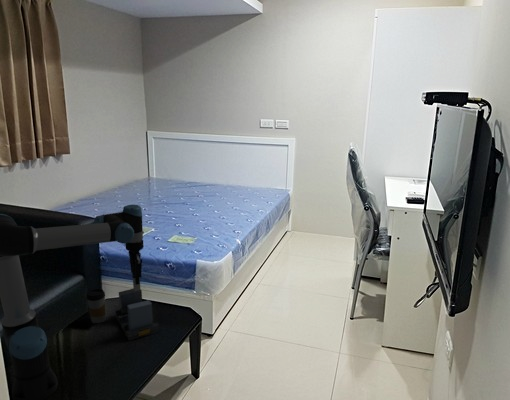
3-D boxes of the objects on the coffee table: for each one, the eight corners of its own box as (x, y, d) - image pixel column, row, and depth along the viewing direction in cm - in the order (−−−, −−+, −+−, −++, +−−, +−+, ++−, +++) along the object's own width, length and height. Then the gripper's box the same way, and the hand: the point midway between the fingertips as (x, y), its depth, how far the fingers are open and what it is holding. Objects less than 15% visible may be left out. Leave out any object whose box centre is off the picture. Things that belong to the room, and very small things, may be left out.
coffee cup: (93, 315, 205) (90, 287, 201) (110, 316, 205) (107, 288, 201) (86, 324, 197) (83, 296, 193) (103, 325, 197) (100, 296, 193)
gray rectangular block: (131, 333, 188) (129, 309, 185) (128, 328, 191) (127, 305, 188) (152, 327, 193) (151, 303, 190) (150, 323, 196) (149, 300, 193)
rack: (128, 341, 185) (126, 314, 181) (115, 315, 206) (112, 290, 202) (159, 332, 192) (157, 305, 188) (143, 307, 213) (141, 283, 209)
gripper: (147, 243, 177) (149, 293, 183) (138, 234, 188) (141, 282, 194) (129, 246, 174) (132, 297, 180) (121, 237, 184) (124, 285, 190)
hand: (137, 289), depth 187 cm, fingers closed
